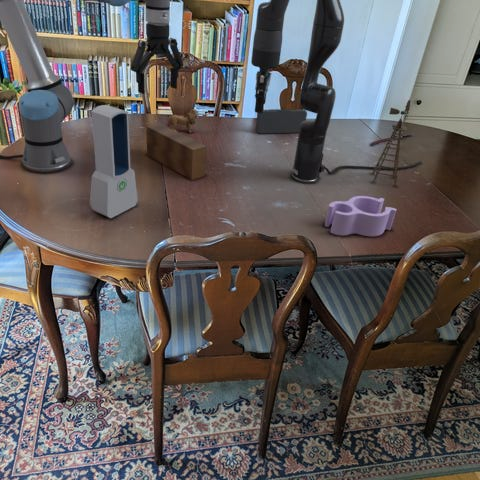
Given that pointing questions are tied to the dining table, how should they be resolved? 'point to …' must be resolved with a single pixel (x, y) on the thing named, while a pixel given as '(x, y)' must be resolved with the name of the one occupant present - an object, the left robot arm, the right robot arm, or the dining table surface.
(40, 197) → the dining table surface
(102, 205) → the electronic device
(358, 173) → the dining table surface
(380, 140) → the sword
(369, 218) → the clip
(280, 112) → the handheld gaming console
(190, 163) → the box
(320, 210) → the dining table surface
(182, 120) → the lion figurine
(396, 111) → the miniature windmill
